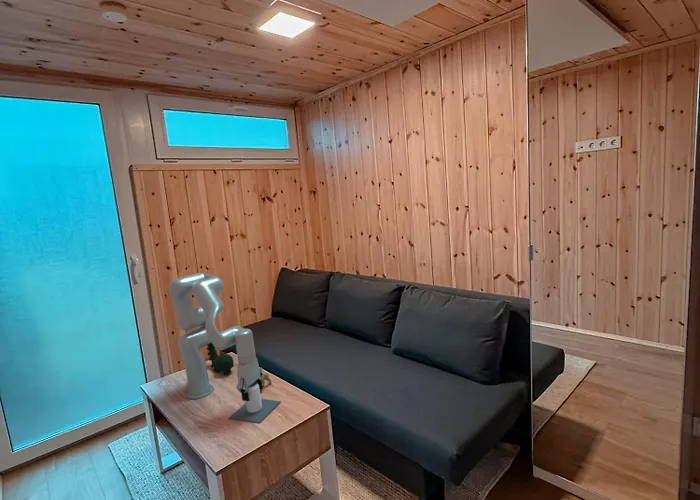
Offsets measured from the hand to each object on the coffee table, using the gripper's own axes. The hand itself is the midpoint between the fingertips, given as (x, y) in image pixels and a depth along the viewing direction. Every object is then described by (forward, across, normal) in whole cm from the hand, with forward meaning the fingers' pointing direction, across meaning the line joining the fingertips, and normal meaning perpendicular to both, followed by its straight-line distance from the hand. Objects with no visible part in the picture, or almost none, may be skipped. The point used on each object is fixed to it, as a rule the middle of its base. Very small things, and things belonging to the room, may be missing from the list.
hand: (252, 394), depth 166 cm
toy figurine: (+8, -30, -44) cm, 54 cm away
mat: (+7, 0, 0) cm, 8 cm away
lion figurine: (+8, -16, -7) cm, 20 cm away
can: (+7, 0, 0) cm, 7 cm away
